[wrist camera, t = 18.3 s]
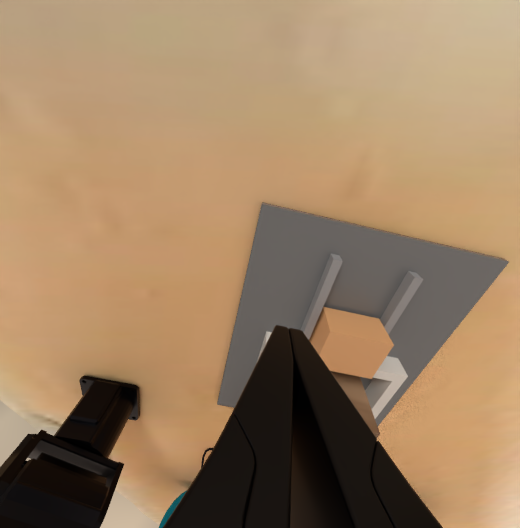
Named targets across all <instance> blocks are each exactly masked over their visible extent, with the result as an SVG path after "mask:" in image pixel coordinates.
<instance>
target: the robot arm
mask: <svg viewBox="0 0 520 528" xmlns="http://www.w3.org/2000/svg"><path fill="white" fill-rule="evenodd" d="M80 385H81V390H82V395H83V397H82V398H81V400H80V401H79V402H78V404H77V405H76V406H75V408H74V409H73V411H72V412H71V413H70V415H69V416H68V417H67V419H66V420H65V421H64V423H63V424H62V426H61V427H60V428H59V430H58V431H57V432H56V434H55V435H54V436H53V435H50V434H48V433H46V431H44V430H41V431H40V432H39V433H38V435H37V434H28V435H27V436H26V437H25V438H24V440H23V441H22V442H21V443H20V444H19V446H18V447H17V448H16V449H15V450H14V452H13V453H12V454H11V455H10V457H9V458H8V459H7V460H6V461H5V462H4V464H3V465H2V466H1V467H0V528H100V526H101V524H102V522H103V520H104V517H105V515H106V513H107V510H108V507H109V504H110V501H111V499H112V496H113V493H114V491H115V488H116V485H117V482H118V479H119V477H120V474H121V471H122V468H123V466H124V464H123V463H121V462H115V461H113V460H110V459H108V457H109V455H110V453H111V451H112V449H113V447H114V445H115V444H116V442H117V440H118V438H119V436H120V434H121V432H122V430H123V428H124V426H125V424H126V422H127V420H128V419H130V420H138V418H139V416H140V411H139V387H138V386H136V385H132V384H127V383H122V382H116V381H111V380H106V379H100V378H95V377H90V376H83V377H82V378H81V379H80ZM27 457H28V458H31V460H29V461H26V459H27ZM163 528H443V527H442V526H441V525H440V523H439V522H438V521H437V520H436V518H435V517H434V516H433V514H432V513H431V512H430V510H429V509H428V508H427V507H426V505H425V504H424V503H423V501H422V500H421V499H420V497H419V496H418V495H417V494H416V492H415V491H414V490H413V488H412V487H411V486H410V484H409V483H408V482H407V480H406V479H405V477H404V476H403V475H402V473H401V472H400V470H399V469H398V468H397V466H396V465H395V463H394V462H393V461H392V459H391V458H390V456H389V455H388V454H387V452H386V451H385V449H384V448H383V446H382V445H381V443H380V442H379V441H377V438H376V436H375V435H374V434H373V432H372V431H371V429H370V428H369V426H368V425H367V423H366V422H365V421H364V419H363V418H362V416H361V415H360V413H359V412H358V410H357V409H356V408H355V406H354V405H353V403H352V402H351V400H350V399H349V397H348V396H347V395H346V393H345V392H344V390H343V389H342V387H341V386H340V384H339V383H338V382H337V380H336V379H335V377H334V376H333V374H332V373H331V371H330V370H329V369H328V367H327V366H326V364H325V363H324V361H323V360H322V358H321V357H320V356H319V354H318V353H317V351H316V350H315V348H314V347H313V345H312V344H311V343H310V341H309V340H308V338H307V337H306V335H305V334H304V332H303V331H302V330H299V329H294V328H289V329H288V328H287V327H285V326H280V325H276V326H275V327H274V329H273V331H272V333H271V335H270V337H269V339H268V341H267V343H266V345H265V347H264V349H263V351H262V353H261V355H260V357H259V359H258V361H257V363H256V365H255V367H254V370H253V372H252V374H251V376H250V378H249V380H248V382H247V384H246V386H245V388H244V390H243V392H242V394H241V396H240V398H239V400H238V402H237V404H236V406H235V408H234V410H233V412H232V415H231V416H230V418H229V420H228V422H227V424H226V426H225V428H224V430H223V432H222V433H221V435H220V437H219V439H218V441H217V443H216V445H215V446H214V448H213V450H212V452H211V454H210V455H209V457H208V459H207V460H206V462H205V463H204V465H203V467H202V468H201V470H200V471H199V473H198V475H197V476H196V478H195V479H194V481H193V483H192V484H191V486H190V487H189V489H188V490H187V492H186V493H185V495H184V496H183V498H182V499H181V501H180V502H179V504H178V505H177V507H176V508H175V510H174V511H173V513H172V514H171V516H170V517H169V519H168V520H167V522H166V523H165V525H164V527H163Z"/></svg>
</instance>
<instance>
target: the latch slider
mask: <svg viewBox="0 0 520 528" xmlns="http://www.w3.org/2000/svg"><path fill="white" fill-rule="evenodd" d="M309 341H310V343H311V344H312V345H313V347H314V348H315V350H316V351H317V353H318V354H319V356H320V357H321V358H322V360H323V361H324V363H325V364H326V366H327V367H328V369H329V370H330V371H334V372H339V373H344V374H349V375H354V376H359V377H364V378H369V379H372V377H373V376H374V374H375V373H376V371H377V370H378V368H379V367H380V365H381V364H382V362H383V361H384V359H385V358H386V356H387V355H388V353H389V352H390V350H391V349H392V348H393V346H394V344H393V342H392V340H391V339H390V337H389V335H388V333H387V332H386V330H385V328H384V326H383V324H382V323H381V321H380V319H379V318H374V317H369V316H365V315H360V314H355V313H350V312H346V311H341V310H336V309H332V308H327V307H323V309H322V311H321V313H320V316H319V318H318V320H317V323H316V325H315V327H314V330H313V332H312V334H311V337H310V339H309Z"/></svg>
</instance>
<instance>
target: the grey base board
mask: <svg viewBox="0 0 520 528" xmlns="http://www.w3.org/2000/svg"><path fill="white" fill-rule="evenodd" d="M508 263H509V261H507V260H505V259H502V258H498V257H494V256H490V255H485V254H481V253H477V252H472V251H468V250H464V249H460V248H455V247H451V246H447V245H442V244H438V243H434V242H430V241H425V240H421V239H417V238H412V237H408V236H404V235H400V234H395V233H391V232H387V231H382V230H378V229H374V228H370V227H365V226H361V225H357V224H353V223H348V222H344V221H340V220H335V219H331V218H327V217H323V216H318V215H314V214H310V213H305V212H301V211H297V210H293V209H288V208H284V207H280V206H275V205H271V204H267V203H263V202H262V205H261V210H260V214H259V219H258V223H257V228H256V232H255V237H254V241H253V246H252V250H251V255H250V259H249V264H248V268H247V272H246V277H245V281H244V286H243V290H242V295H241V299H240V304H239V308H238V313H237V317H236V322H235V326H234V331H233V335H232V340H231V344H230V349H229V353H228V358H227V362H226V366H225V371H224V375H223V380H222V384H221V389H220V393H219V398H218V402H217V404H218V405H223V406H228V407H234V408H235V406H236V404H237V402H238V400H239V398H240V396H241V394H242V392H243V390H244V388H245V386H246V384H247V382H248V380H249V378H250V376H251V374H252V372H253V370H254V367H255V365H256V363H257V361H258V359H259V357H260V355H261V353H262V351H263V349H264V347H265V345H266V343H267V341H268V339H269V337H270V335H271V333H272V331H273V329H274V327H275V326H276V325H280V326H285V327H287V328H288V329H289V328H294V329H299V330H302V331H303V332H304V334H305V335H306V337H307V338H308V340H309V339H310V337H311V334H312V332H313V330H314V327H315V325H316V323H317V320H318V318H319V316H320V313H321V311H322V309H323V307H327V308H332V309H336V310H341V311H346V312H350V313H355V314H360V315H365V316H369V317H374V318H379V319H380V321H381V323H382V324H383V326H384V328H385V330H386V332H387V333H388V335H389V337H390V339H391V340H392V342H393V344H394V346H393V348H392V349H391V350H390V352H389V353H388V355H387V356H386V358H385V359H384V361H383V362H382V364H381V365H380V367H379V368H378V370H377V371H376V373H375V374H374V376H373V377H372V379H369V378H364V377H360V378H361V381H362V384H363V387H364V390H365V392H366V395H367V398H368V401H369V404H370V407H371V410H372V412H373V415H374V418H375V421H376V424H377V427H378V425H379V424H380V423H381V422H382V420H383V419H384V418H385V417H386V415H387V414H388V413H389V412H390V410H391V409H392V408H393V407H394V405H395V404H396V403H397V402H398V400H399V399H400V398H401V397H402V395H403V394H404V393H405V392H406V390H407V389H408V388H409V387H410V385H411V384H412V383H413V382H414V380H415V379H416V378H417V377H418V375H419V374H420V373H421V372H422V370H423V369H424V368H425V367H426V365H427V364H428V363H429V362H430V360H431V359H432V358H433V357H434V355H435V354H436V353H437V352H438V350H439V349H440V348H441V347H442V345H443V344H444V343H445V342H446V340H447V339H448V338H449V337H450V335H451V334H452V333H453V332H454V330H455V329H456V328H457V327H458V325H459V324H460V323H461V322H462V320H463V319H464V318H465V317H466V315H467V314H468V313H469V312H470V310H471V309H472V308H473V307H474V305H475V304H476V303H477V302H478V300H479V299H480V298H481V297H482V295H483V294H484V293H485V292H486V290H487V289H488V288H489V287H490V285H491V284H492V283H493V282H494V280H495V279H496V278H497V277H498V275H499V274H500V273H501V272H502V270H503V269H504V268H505V267H506V265H507V264H508Z"/></svg>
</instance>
